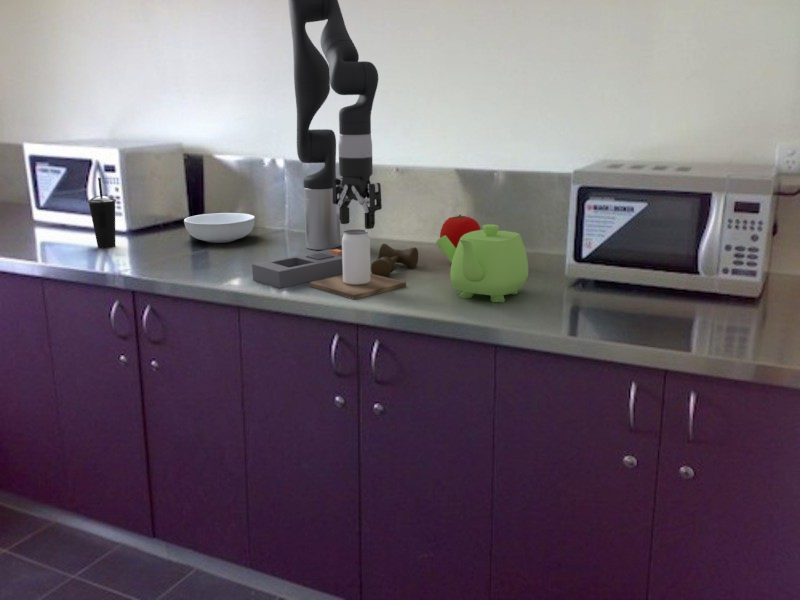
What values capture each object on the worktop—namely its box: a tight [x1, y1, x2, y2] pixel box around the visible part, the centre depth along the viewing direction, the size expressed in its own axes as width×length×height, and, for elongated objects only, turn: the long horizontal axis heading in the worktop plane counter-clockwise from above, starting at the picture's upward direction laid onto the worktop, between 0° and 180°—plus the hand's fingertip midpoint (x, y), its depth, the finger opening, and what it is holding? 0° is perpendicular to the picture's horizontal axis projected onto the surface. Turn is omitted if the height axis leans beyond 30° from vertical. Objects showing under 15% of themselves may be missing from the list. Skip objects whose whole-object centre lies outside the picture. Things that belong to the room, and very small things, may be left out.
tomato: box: [439, 214, 482, 248], centre depth 205 cm, size 11×11×13 cm
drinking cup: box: [87, 177, 117, 249], centre depth 226 cm, size 8×8×20 cm
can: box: [341, 228, 371, 285], centre depth 182 cm, size 6×6×12 cm
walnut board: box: [308, 272, 407, 300], centre depth 184 cm, size 16×16×1 cm
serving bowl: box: [183, 212, 256, 244], centre depth 237 cm, size 21×21×7 cm
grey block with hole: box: [251, 248, 343, 289], centre depth 194 cm, size 24×11×5 cm, turn 134°
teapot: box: [435, 223, 529, 303], centre depth 175 cm, size 25×22×16 cm
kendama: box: [370, 243, 419, 278], centre depth 200 cm, size 6×10×20 cm
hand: (356, 226), depth 180 cm, fingers open, 8 cm apart
